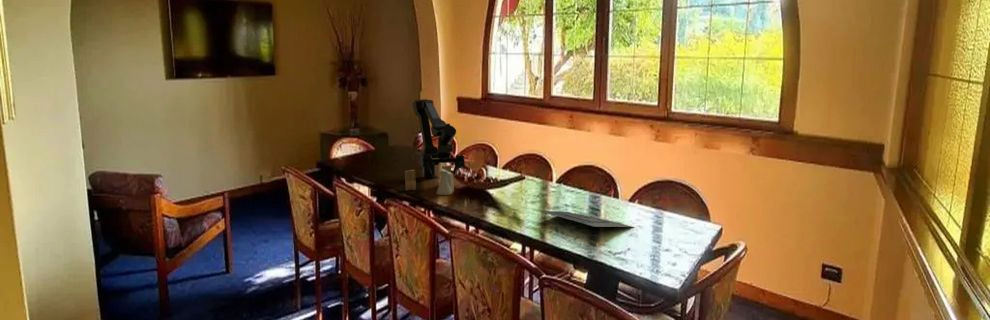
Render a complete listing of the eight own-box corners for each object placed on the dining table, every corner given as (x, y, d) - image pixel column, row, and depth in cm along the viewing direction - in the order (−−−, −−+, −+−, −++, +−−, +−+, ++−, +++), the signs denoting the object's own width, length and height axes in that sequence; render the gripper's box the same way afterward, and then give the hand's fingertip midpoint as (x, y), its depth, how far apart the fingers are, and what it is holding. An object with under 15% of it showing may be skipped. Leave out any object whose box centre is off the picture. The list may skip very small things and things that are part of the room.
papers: (574, 218, 254) (575, 209, 254) (634, 234, 232) (635, 224, 232) (532, 217, 238) (534, 208, 238) (593, 234, 216) (595, 224, 216)
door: (438, 185, 291) (437, 169, 289) (443, 184, 292) (442, 168, 291) (448, 191, 281) (447, 174, 279) (453, 190, 282) (453, 174, 280)
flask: (433, 195, 277) (432, 173, 274) (440, 190, 283) (440, 169, 281) (448, 196, 274) (447, 174, 272) (455, 192, 281) (454, 170, 278)
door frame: (405, 189, 286) (404, 170, 284) (450, 183, 296) (450, 164, 294) (406, 190, 284) (406, 171, 282) (452, 184, 294) (452, 165, 292)
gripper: (422, 138, 277) (421, 167, 268) (464, 137, 277) (464, 167, 269) (424, 151, 286) (423, 180, 278) (464, 151, 287) (464, 180, 278)
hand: (443, 177), depth 275 cm, fingers open, 9 cm apart
